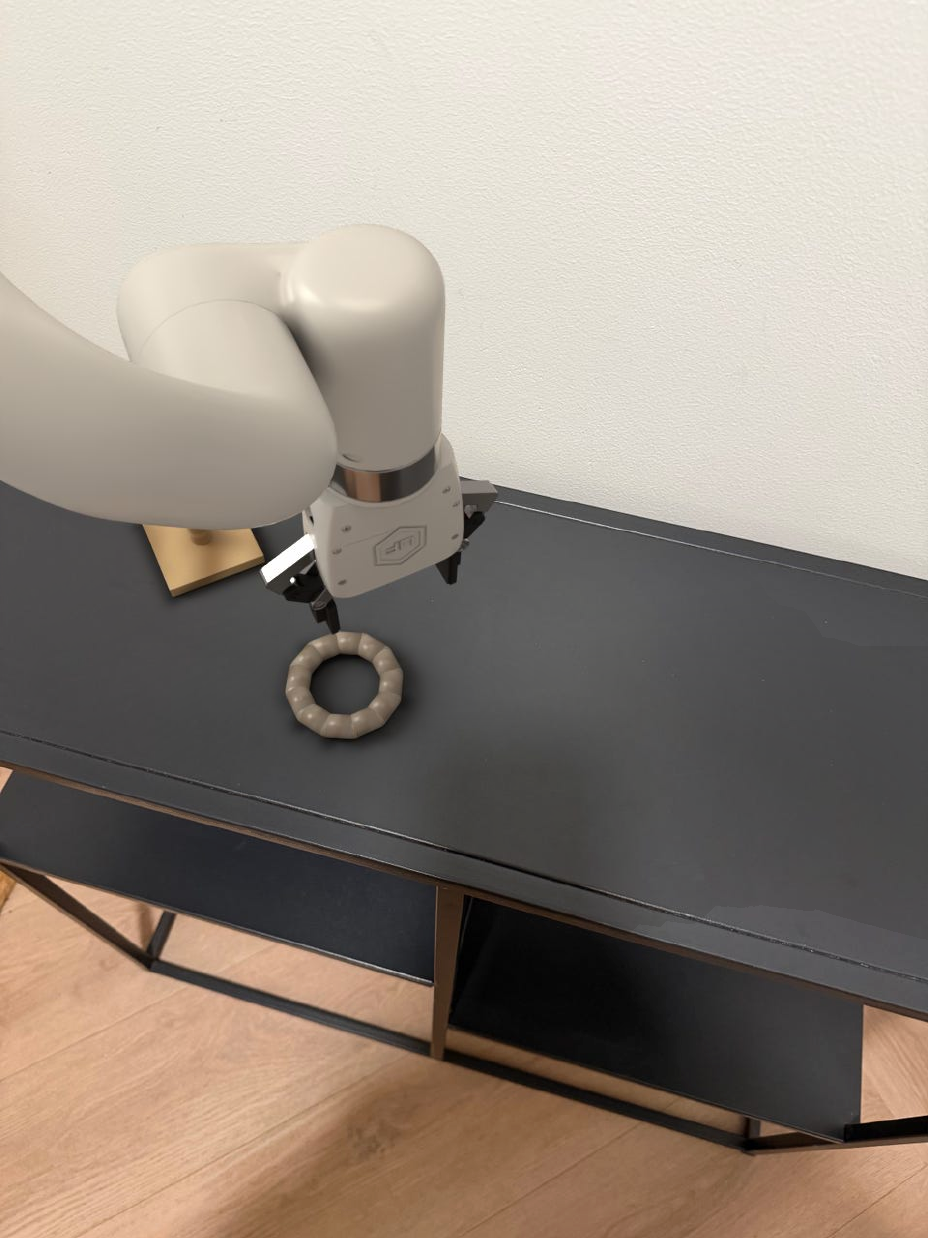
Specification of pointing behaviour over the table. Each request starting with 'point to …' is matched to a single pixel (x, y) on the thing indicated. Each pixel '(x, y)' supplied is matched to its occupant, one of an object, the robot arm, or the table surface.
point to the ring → (341, 723)
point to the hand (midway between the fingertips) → (387, 593)
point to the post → (201, 554)
